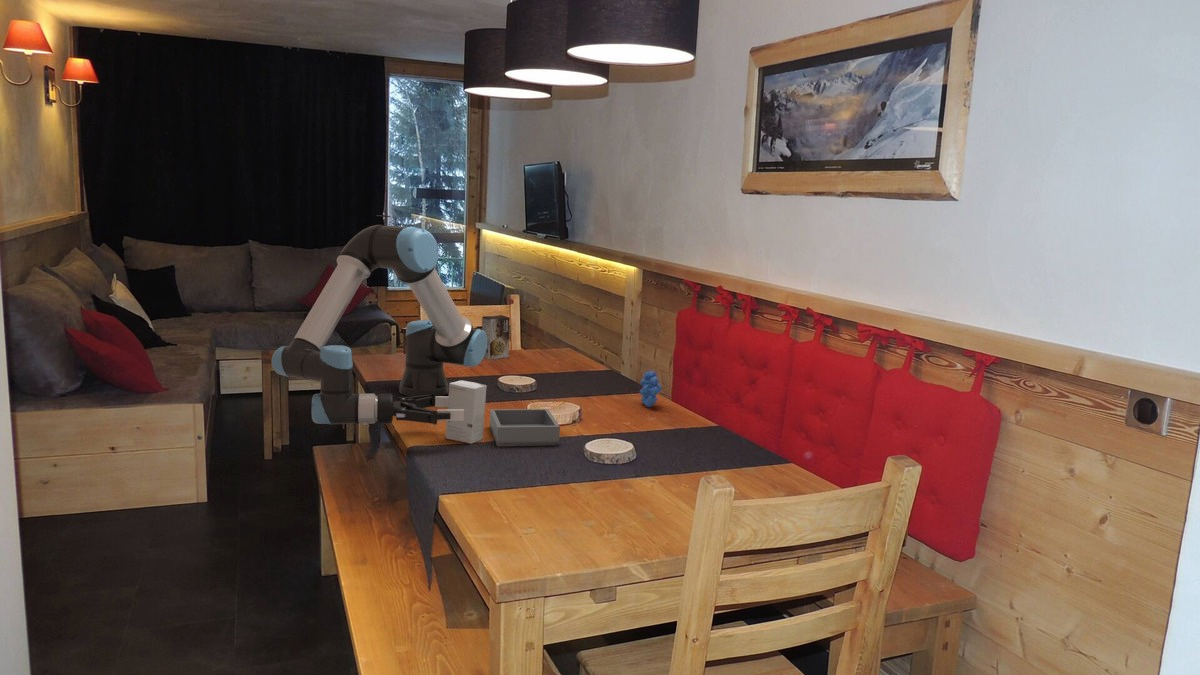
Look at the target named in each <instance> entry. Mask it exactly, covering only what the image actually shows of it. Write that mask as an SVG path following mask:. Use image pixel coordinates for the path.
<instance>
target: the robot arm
mask: <svg viewBox="0 0 1200 675" xmlns="http://www.w3.org/2000/svg"><path fill="white" fill-rule="evenodd" d="M438 250H439V246H438V242H437V240H436V239H435V237H434V236H433V234H432V233H431V232H430V231H428V230H427V229H424V228H421V227H420V228H419V227H416V226H398V225H394V226H393V225H383V224H375V225H371V226H367V227H366V228H364V229H362V230H361V231H359V232H358V233H357V234H355V235H354V236H353V237H352V238H351V239H350V240H349V241H348V242H347V244H345V245H344V247H343V249H342V250H341V251H340V253H339V255H338V256H337V258H336V264H337V266H336V267H335V268H334V270H333V272H332V274H331V276H330V277H329V279H328V280H327V282H326V284H325V286H324V287H323V288H322V291H321V292H320V294H319V296H318V297H317V299H316V301H315V303H314V304H313V305H312V308H311V309H310V311H309V312H308V314H307V316H306V317H305V319H304V321H303V322H302V324H301V325H300V327H299V329H298V331H297V332H296V334H295V336H294V337H293V339H292V341H291V342H290V344H289V345H283V346H279V348H276V350H274V352H273V354H272V358H271V367H272V369H273V370H274V372H275V373H276V374H278V375H280V376H284V377H287V378H290V379H293V378H294V379H300V380H307V381H311V382H317V383H320V385H319V386H320V392H319V393H315V394H313V396H312V397H311V420H312V422H313V423H314V424H321V425H326V424H327V425H332V426H333V425H348V424H349V425H351V424H355V425H356V424H362V425H363V426H367V425H369V424H375V423H376V422H377V423H378V424H382V425H383V424H392V423H393V420H394V419H393V417H395V420H396V421H409V422H415V423H422V424H433V426H434V425H435V426H436V425H438V422H447V421H464V409H452V410H448V409H437V410H433V409H428V408H431V407H435V408H448V396H449V395H448V394H449V383H448V381H447V377H446V375H445V371H444V364H450V365H457V366H462V367H466V368H467V367H473V368H474V367H477V366H478V365H480V364H481V363H482V361H483V360H484V356H485V353H486V349H487V336H486V333H485V332H484V331H483V330H482V329H481V328H474V326H473V323H471V321H470V320H469V318H467V316H466V317H465V316H463V315H461V314H460V311H459V310H458V307H457V306H456V304H455V302H454V301H453V299H452V297H451V295H450V294H449V292H448V290H447V288H446V286H445V285H444V283H443V280H442V279H441V277H440V276H439V274H438V272H437V270H436V267H437V263H438V260H439V251H438ZM378 268H380V269H389V270H392V271H393V273H394V274H395V276H396V277H397V279H398V280H399V281H400V282H401V283H403V284H407V285H408V287H409V288H410V290H411V292H412V293H413V295H414V296H415V298H416V299H417V301H418V303H419V305H420V306H421V308H422V309H423V311H424V314H426V316H427V318H428V319H419V320H413V321H410V322H408V323H407V325H406V329H405V336H404V337H405V369H404V371H403V374H402V377H401V380H400V382H399V385H398V386H399V388H398V389H399V390H398V391H399V394H401V395H404V397H402V396H401V397H400V396H398V397H396V400H394V394H392V393H378V395H376V393H353V367H354V364H353V363H354V362H353V355H352V354H353V353H352V349H351V347H349V346H346V345H341V344H340V345H337V344H335V345H334V344H332V345H326V344H327V342H328V341H329V339H330V338H331V335H332V334H333V332H334V331H335V329H336V327H337V325H338V323H339V322H340V320H341V318H342V316H343V314H344V313H345V311H346V309H347V308H348V306H349V305H350V303H351V301H352V300H353V297H354V296H355V294H356V292H357V290H358V289H359V287H360V285H361V283H362V282H363V280H364V279H368V278H369V277H370V276H371V274H372V273H373V271H374V270H376V269H378ZM446 394H447V395H448V396H445V395H446Z"/></svg>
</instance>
